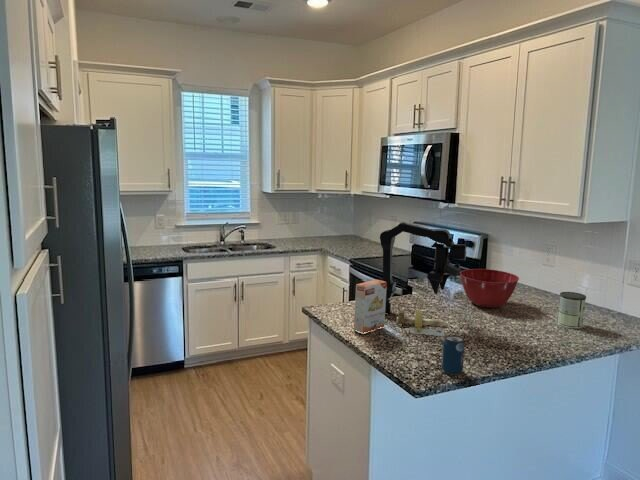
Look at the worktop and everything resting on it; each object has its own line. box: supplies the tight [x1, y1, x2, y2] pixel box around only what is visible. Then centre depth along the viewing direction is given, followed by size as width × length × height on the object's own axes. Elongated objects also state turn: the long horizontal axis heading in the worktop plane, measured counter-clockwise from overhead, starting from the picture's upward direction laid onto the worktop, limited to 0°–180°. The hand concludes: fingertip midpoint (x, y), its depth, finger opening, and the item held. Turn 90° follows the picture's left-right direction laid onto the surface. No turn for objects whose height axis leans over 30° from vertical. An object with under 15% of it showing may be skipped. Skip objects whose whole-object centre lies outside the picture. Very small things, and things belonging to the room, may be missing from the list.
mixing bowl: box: [459, 268, 520, 309], centre depth 239 cm, size 28×28×16 cm
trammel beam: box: [396, 310, 444, 328], centre depth 202 cm, size 20×10×6 cm, turn 79°
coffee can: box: [557, 291, 587, 329], centre depth 209 cm, size 10×10×14 cm
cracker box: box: [353, 279, 387, 333], centre depth 196 cm, size 14×6×21 cm, turn 134°
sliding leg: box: [414, 310, 424, 330], centre depth 201 cm, size 3×11×7 cm, turn 169°
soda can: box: [441, 334, 466, 376], centre depth 158 cm, size 7×7×12 cm
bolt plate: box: [408, 326, 446, 338], centre depth 197 cm, size 20×7×1 cm, turn 79°
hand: (439, 291), depth 210 cm, fingers open, 9 cm apart
